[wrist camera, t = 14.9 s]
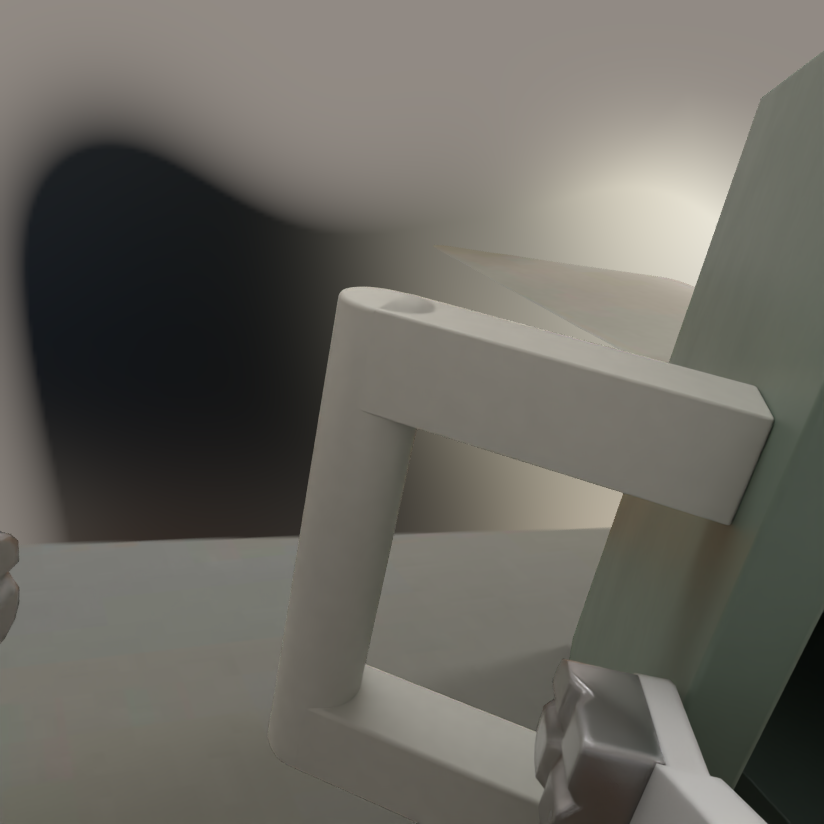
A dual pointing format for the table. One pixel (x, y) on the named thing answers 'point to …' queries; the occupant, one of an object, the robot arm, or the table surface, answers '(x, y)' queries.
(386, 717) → the cabinet door
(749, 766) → the green cabinet
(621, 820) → the robot arm
